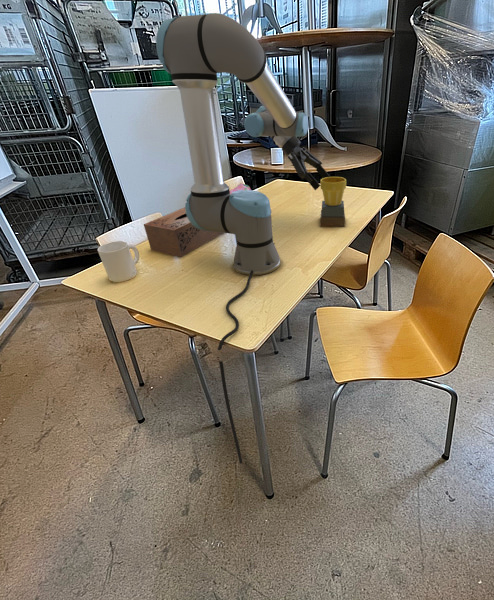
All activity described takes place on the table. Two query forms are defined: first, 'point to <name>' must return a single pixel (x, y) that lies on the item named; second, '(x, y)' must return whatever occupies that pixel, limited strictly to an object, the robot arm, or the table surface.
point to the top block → (332, 210)
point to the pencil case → (240, 188)
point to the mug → (119, 260)
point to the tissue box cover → (176, 234)
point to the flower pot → (333, 190)
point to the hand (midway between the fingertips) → (323, 183)
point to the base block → (332, 221)
